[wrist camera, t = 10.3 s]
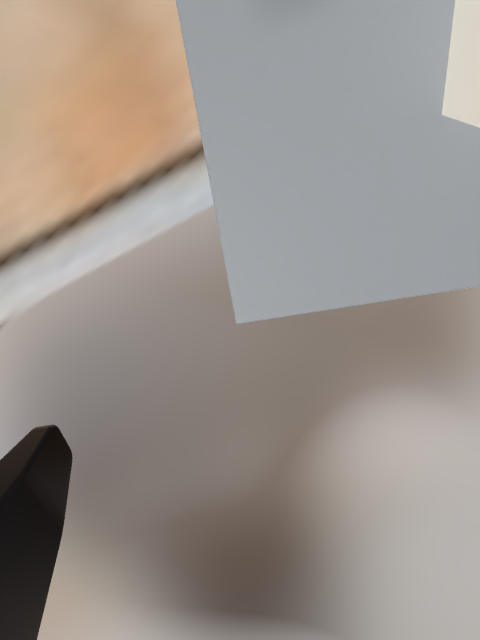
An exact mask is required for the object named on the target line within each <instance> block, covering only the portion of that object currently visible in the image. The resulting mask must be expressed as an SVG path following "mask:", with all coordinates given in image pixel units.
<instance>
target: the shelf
mask: <svg viewBox="0 0 480 640" xmlns="http://www.w3.org/2000/svg"><path fill="white" fill-rule="evenodd" d="M176 4H177V10H178V15H179V20H180V26H181V31H182V36H183V42H184V47H185V52H186V58H187V63H188V68H189V74H190V79H191V84H192V89H193V95H194V100H195V105H196V111H197V116H198V121H199V127H200V132H201V137H202V143H203V148H204V153H205V159H206V164H207V169H208V175H209V180H210V185H211V191H212V196H213V201H214V207H215V212H216V217H217V223H218V228H219V233H220V239H221V244H222V249H223V255H224V260H225V265H226V271H227V276H228V281H229V287H230V292H231V297H232V303H233V308H234V313H235V319H236V323H237V324H238V323H246V322H252V321H259V320H265V319H271V318H278V317H283V316H290V315H297V314H304V313H310V312H316V311H323V310H329V309H336V308H342V307H349V306H355V305H361V304H368V303H374V302H381V301H387V300H393V299H400V298H406V297H413V296H419V295H425V294H432V293H439V292H445V291H452V290H458V289H465V288H470V287H477V286H480V128H479V127H476V126H473V125H470V124H467V123H464V122H461V121H459V120H456V119H453V118H450V117H447V116H444V115H442V108H443V100H444V91H445V83H446V74H447V66H448V57H449V49H450V40H451V32H452V23H453V15H454V6H455V0H176Z"/></svg>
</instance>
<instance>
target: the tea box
mask: <svg viewBox="0 0 480 640" xmlns="http://www.w3.org/2000/svg"><path fill="white" fill-rule="evenodd" d="M442 115H444V116H447V117H450V118H453V119H456V120H459V121H461V122H464V123H467V124H470V125H473V126H476V127H479V128H480V0H455V6H454V15H453V23H452V32H451V40H450V49H449V57H448V66H447V74H446V83H445V91H444V100H443V108H442Z"/></svg>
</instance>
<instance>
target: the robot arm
mask: <svg viewBox="0 0 480 640" xmlns="http://www.w3.org/2000/svg"><path fill="white" fill-rule="evenodd" d="M71 467H72V452H71V450H70V447H69V446H68V444H67V442H66V440H65V438H64V437H63V435H62V433H61V431H60V430H59V428H58V427H57V426H55V425H47V426H40V427H36V428H34V429H33V430H31V431H30V432H29V433H28V434H27V435H26V436H25V437H24V438H23V439H22V440H21V441H20V442H19V443H18V444H17V445H16V446H15V447H14V448H13V449H12V450H10V451H9V452H8V453H7V454H6V455H5V456H4V458H2V459H1V460H0V640H37V636H38V632H39V628H40V624H41V620H42V616H43V612H44V607H45V603H46V599H47V595H48V591H49V586H50V583H51V579H52V574H53V570H54V566H55V562H56V558H57V554H58V550H59V546H60V541H61V537H62V532H63V526H64V519H65V512H66V505H67V497H68V489H69V481H70V474H71Z"/></svg>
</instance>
